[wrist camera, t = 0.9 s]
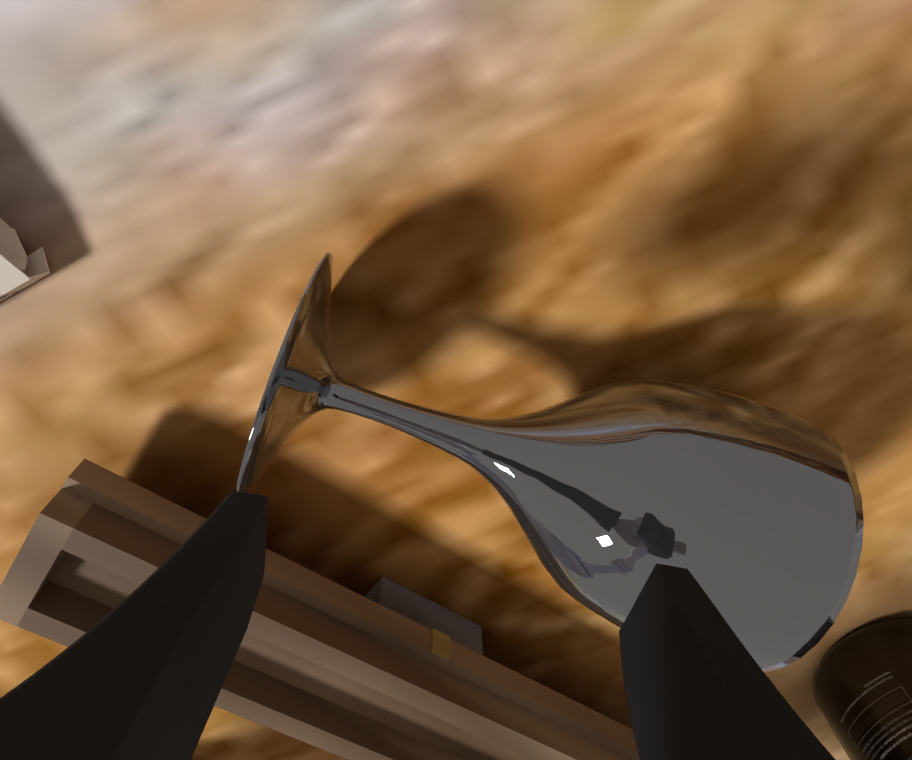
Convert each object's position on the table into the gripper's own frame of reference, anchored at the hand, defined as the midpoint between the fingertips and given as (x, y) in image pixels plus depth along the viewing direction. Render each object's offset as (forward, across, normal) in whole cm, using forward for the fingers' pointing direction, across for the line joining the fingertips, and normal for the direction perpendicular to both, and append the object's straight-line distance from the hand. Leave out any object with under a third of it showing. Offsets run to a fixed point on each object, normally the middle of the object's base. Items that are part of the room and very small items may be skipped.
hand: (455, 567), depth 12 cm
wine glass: (+6, +5, +1) cm, 8 cm away
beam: (+9, 0, +15) cm, 17 cm away
